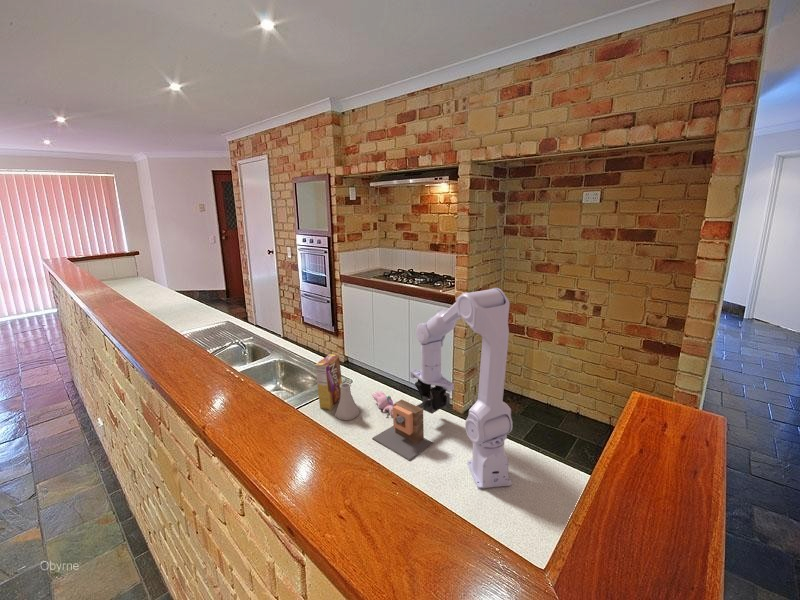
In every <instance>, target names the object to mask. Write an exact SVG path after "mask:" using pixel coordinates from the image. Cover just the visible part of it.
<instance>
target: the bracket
mask: <svg viewBox="0 0 800 600" xmlns="http://www.w3.org/2000/svg"><path fill="white" fill-rule="evenodd" d="M393 404H394V406H396V405H398V406H400V407H402V408H404V409H406V410H408V411H411V412H413V433H412V434H410V435H408V434H406V433H405V432H403V431H401V430H399V429H397V428H395V433H397V434H399V435H401V436H402V437H404V438H406V439H408V440H410V441H412V442H413V443H415V444H417V443H419V442H420V441H422V440H423V439H424V438H425V437H424V435H425V434H424V431H425V430H424V428H425V427H424V410H423V409H422V408H420V407H417V405H415V404H413V403H410V402H409V401H407V400H404V399H400V400H398V401H396V402H393ZM403 423H404V424H405V421H404V422H403Z"/></svg>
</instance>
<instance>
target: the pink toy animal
mask: <svg viewBox="0 0 800 600" xmlns="http://www.w3.org/2000/svg"><path fill="white" fill-rule="evenodd" d="M371 396H372V398H373V400H374V401H375V402H377V407H378V408H379V409H381V410H382V412H383V413H385V411H388V413H389V416H390V417H391V418H393V407H394V402H393V399H392V397H391V395H386V394H385V392H383V391H380V390H379V391H375V392H373V393H372V392H371Z"/></svg>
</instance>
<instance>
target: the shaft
mask: <svg viewBox="0 0 800 600" xmlns="http://www.w3.org/2000/svg"><path fill="white" fill-rule="evenodd" d="M432 388H434V387H433V386H431V388H430V389H432ZM450 395H451V394H450V392H449V393H448V392H447V391H446V392H445V394H444V396H443V399H442V402H441V406H440V408H439V409H437V410H434V406H433V397H432V393H431V391H430V392H428V393H426V394H424V395H423V396H422V398H421V400H422V399H423V402H422V401H421V403H419V404H417V405H416V406H417V407H420V408H422V409H423V411H425V412H426V413H429V414H434V413H436V412H438V411H439V410H441V409H444V410H448V409H450V408H451V407H450V405H451V403H450V400H451V399H450V398H451V396H450ZM395 421H396V423H397V424H401V423H403V422H404V421H405V417H403V416H401V415H399V416H397V417H396V418H395Z"/></svg>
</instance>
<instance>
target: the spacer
mask: <svg viewBox="0 0 800 600" xmlns="http://www.w3.org/2000/svg"><path fill="white" fill-rule="evenodd" d="M399 415H401V416H403V417H405V424H404V423H401V424H397V423H396V421H395V418H396V417H397V416H399ZM392 419H393V421H392V422H393V425H394V427H395V428H397V429H399V430H401V431H403V432H405V433H406V434H408V435H410V434H412V433H413V412H411V411H408V410H406V409H404V408H402V407H400V406H398V405H396V406H394V407H393V417H392Z"/></svg>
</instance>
